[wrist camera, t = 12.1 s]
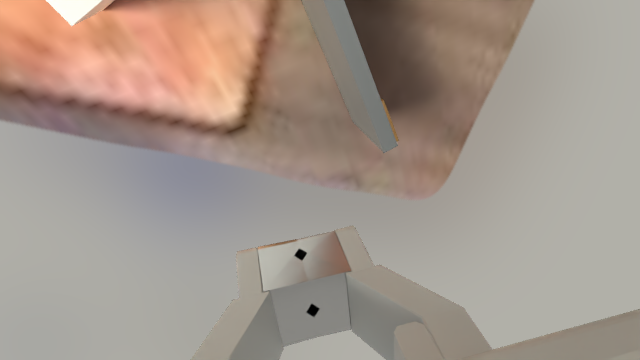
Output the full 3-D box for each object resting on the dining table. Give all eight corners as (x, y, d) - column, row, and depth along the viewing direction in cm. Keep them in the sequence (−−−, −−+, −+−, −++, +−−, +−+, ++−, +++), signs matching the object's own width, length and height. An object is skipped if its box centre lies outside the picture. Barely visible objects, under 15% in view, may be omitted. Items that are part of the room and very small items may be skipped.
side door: (252, -110, 23) (269, -130, 18) (275, -121, 23) (297, -145, 18) (351, 122, 31) (382, 153, 26) (368, 113, 31) (402, 143, 26)
